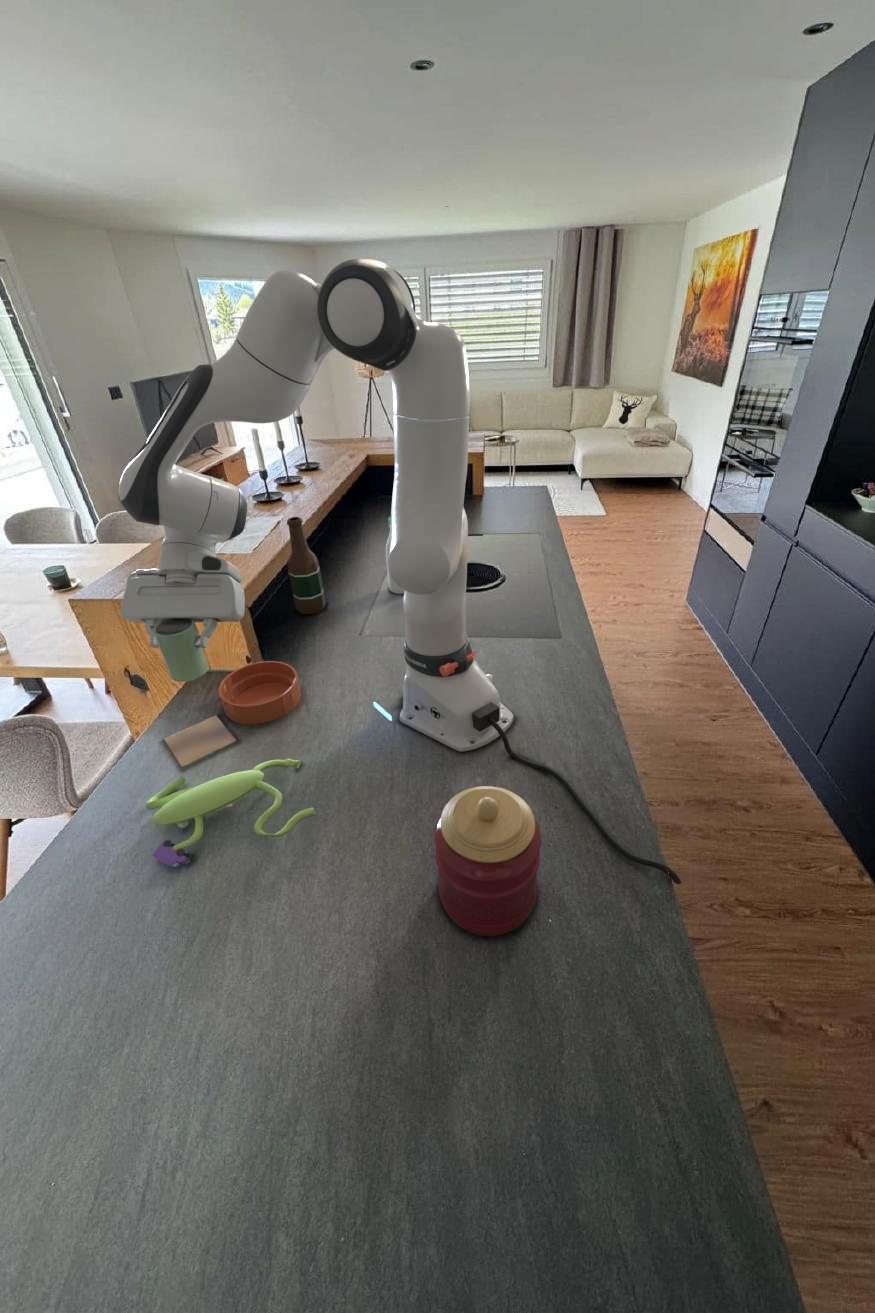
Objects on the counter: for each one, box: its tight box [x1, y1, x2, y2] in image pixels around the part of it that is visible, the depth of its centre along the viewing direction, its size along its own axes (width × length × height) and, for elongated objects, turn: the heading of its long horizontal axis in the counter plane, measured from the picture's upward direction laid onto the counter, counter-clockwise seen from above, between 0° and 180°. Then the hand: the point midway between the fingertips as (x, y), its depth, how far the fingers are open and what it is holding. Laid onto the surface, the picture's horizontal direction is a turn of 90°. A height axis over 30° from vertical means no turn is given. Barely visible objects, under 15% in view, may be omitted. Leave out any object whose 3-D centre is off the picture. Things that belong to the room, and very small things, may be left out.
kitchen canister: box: [434, 785, 542, 937], centre depth 69 cm, size 13×13×18 cm
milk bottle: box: [385, 516, 404, 595], centre depth 146 cm, size 8×8×20 cm
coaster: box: [163, 714, 237, 768], centre depth 102 cm, size 10×10×1 cm
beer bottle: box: [286, 516, 326, 615], centre depth 138 cm, size 8×8×24 cm
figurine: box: [145, 757, 316, 869], centre depth 85 cm, size 18×27×6 cm
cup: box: [153, 618, 210, 683], centre depth 94 cm, size 6×6×9 cm
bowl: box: [218, 660, 302, 726], centre depth 110 cm, size 15×15×5 cm
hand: (179, 647), depth 93 cm, fingers closed on cup, 6 cm apart
